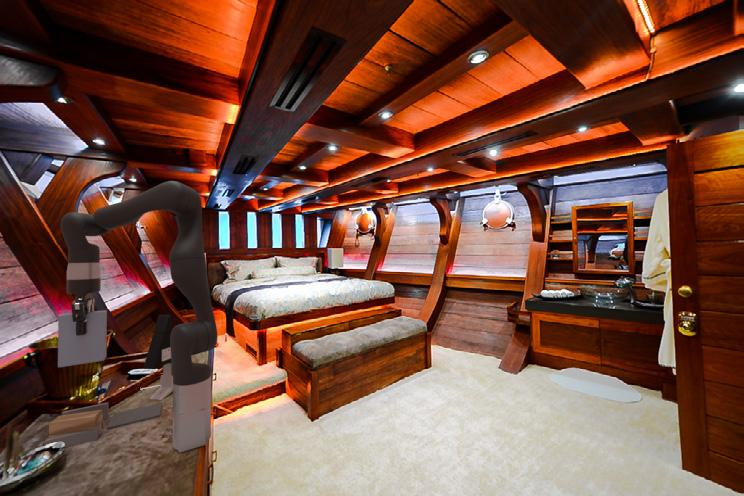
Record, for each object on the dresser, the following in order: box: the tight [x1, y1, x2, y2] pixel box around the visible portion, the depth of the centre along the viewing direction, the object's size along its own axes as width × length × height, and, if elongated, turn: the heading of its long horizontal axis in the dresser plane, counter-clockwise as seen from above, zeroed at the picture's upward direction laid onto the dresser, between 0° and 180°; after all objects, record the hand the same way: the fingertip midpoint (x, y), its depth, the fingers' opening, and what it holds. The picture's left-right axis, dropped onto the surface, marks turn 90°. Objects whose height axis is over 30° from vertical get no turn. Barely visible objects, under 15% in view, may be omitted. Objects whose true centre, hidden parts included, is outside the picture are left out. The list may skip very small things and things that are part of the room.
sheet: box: [57, 309, 108, 368], centre depth 91 cm, size 4×10×15 cm, turn 122°
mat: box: [106, 402, 163, 431], centre depth 97 cm, size 10×13×1 cm
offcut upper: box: [48, 410, 102, 437], centre depth 85 cm, size 4×10×4 cm, turn 109°
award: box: [143, 314, 173, 401], centre depth 113 cm, size 15×5×30 cm, turn 168°
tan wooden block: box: [44, 401, 109, 448], centre depth 88 cm, size 13×11×5 cm
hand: (83, 333), depth 91 cm, fingers closed on sheet, 4 cm apart
